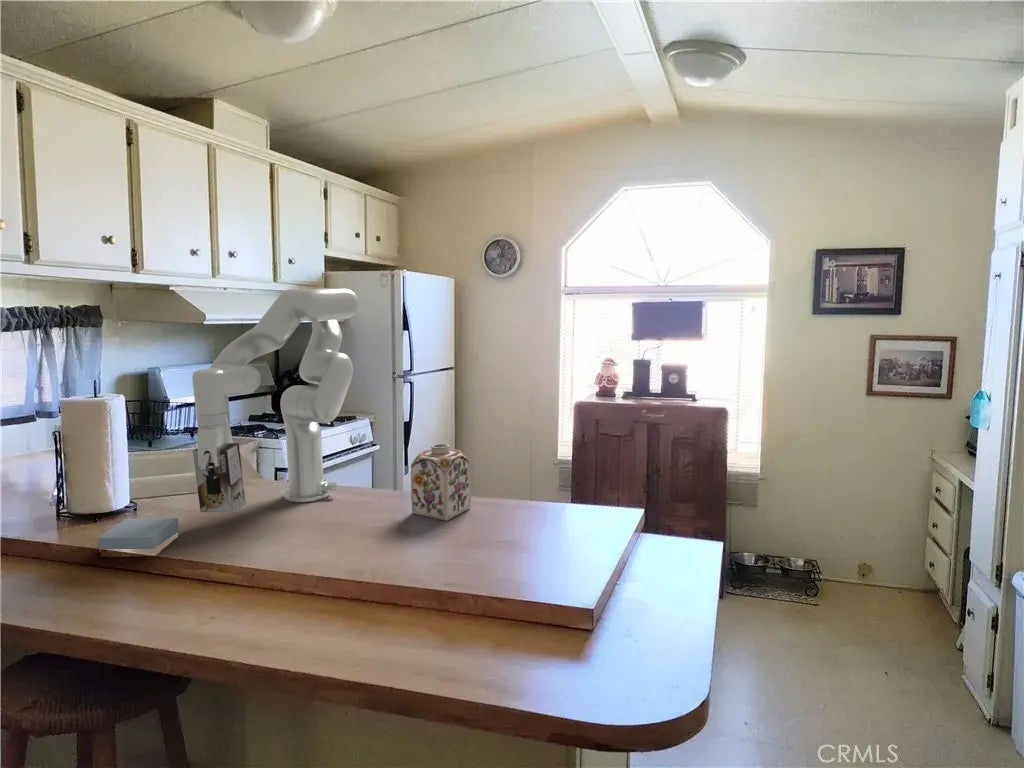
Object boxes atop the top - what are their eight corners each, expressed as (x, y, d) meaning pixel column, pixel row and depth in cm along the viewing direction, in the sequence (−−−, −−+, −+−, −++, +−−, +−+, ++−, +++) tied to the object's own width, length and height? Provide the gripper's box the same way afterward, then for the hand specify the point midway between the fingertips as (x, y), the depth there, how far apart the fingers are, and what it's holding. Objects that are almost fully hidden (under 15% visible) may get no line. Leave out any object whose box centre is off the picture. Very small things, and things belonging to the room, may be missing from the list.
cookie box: (246, 504, 175) (240, 442, 172) (234, 513, 169) (227, 449, 166) (212, 503, 176) (205, 442, 173) (198, 512, 170) (191, 449, 167)
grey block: (179, 538, 165) (177, 518, 164) (155, 558, 153) (153, 536, 153) (128, 538, 165) (126, 518, 164) (100, 559, 153) (98, 537, 152)
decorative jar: (446, 522, 174) (445, 453, 172) (410, 514, 180) (408, 447, 177) (472, 508, 185) (471, 443, 182) (437, 501, 190) (435, 438, 188)
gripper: (214, 411, 177) (221, 477, 180) (180, 428, 160) (189, 501, 163) (243, 410, 176) (249, 477, 180) (212, 427, 159) (220, 501, 163)
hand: (220, 488), depth 171 cm, fingers closed on cookie box, 6 cm apart
